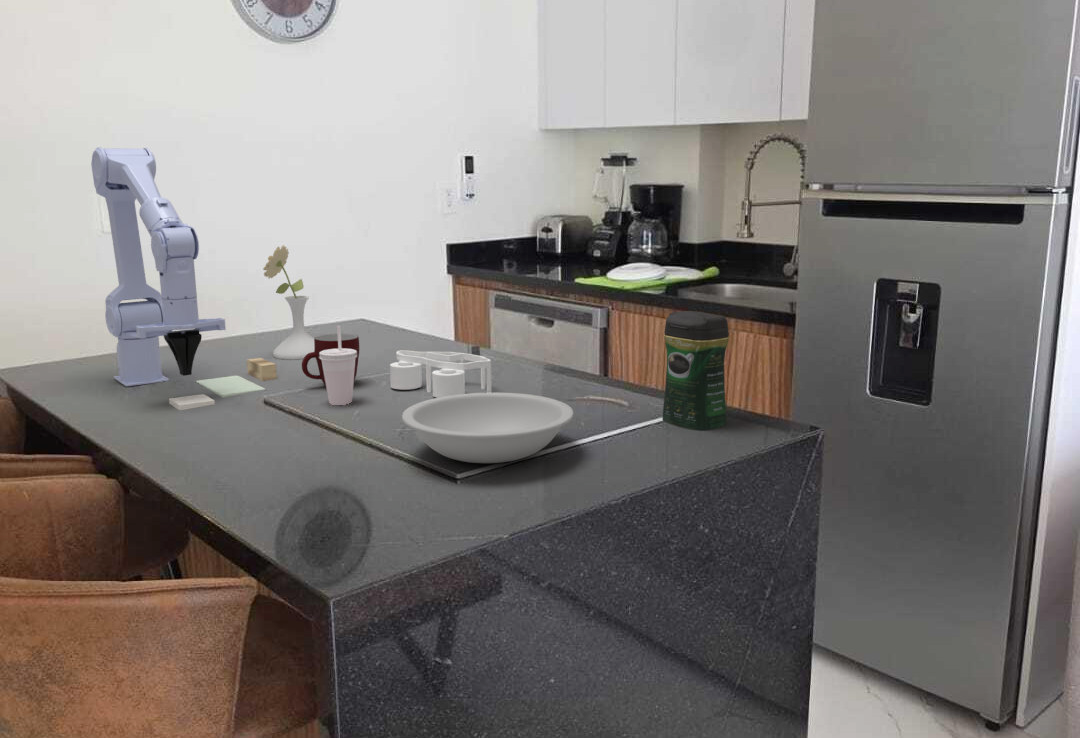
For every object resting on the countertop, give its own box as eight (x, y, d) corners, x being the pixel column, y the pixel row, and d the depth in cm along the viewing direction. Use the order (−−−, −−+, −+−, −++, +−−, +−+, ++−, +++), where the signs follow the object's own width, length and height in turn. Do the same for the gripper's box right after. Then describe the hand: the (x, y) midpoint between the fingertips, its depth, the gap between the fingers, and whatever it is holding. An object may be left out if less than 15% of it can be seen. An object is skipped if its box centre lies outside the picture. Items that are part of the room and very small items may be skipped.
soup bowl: (512, 495, 117) (511, 444, 115) (367, 465, 129) (365, 419, 128) (603, 448, 137) (604, 404, 135) (470, 426, 149) (469, 385, 148)
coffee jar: (734, 432, 145) (739, 313, 141) (699, 441, 140) (703, 318, 136) (688, 419, 152) (691, 306, 148) (653, 427, 147) (655, 310, 144)
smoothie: (367, 404, 163) (363, 325, 161) (344, 412, 158) (340, 330, 155) (337, 400, 166) (333, 322, 163) (314, 408, 160) (309, 328, 157)
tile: (169, 398, 164) (179, 405, 159) (203, 394, 168) (214, 400, 163) (169, 406, 164) (179, 413, 160) (204, 401, 168) (215, 407, 163)
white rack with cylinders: (378, 394, 172) (377, 354, 170) (423, 383, 180) (422, 346, 179) (456, 411, 159) (455, 368, 158) (500, 399, 167) (499, 358, 166)
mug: (311, 398, 168) (308, 343, 166) (298, 390, 174) (295, 337, 172) (367, 391, 173) (365, 338, 171) (352, 383, 180) (349, 332, 178)
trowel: (242, 379, 185) (241, 360, 184) (267, 375, 187) (266, 357, 187) (271, 392, 173) (269, 372, 172) (296, 389, 176) (295, 369, 175)
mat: (196, 384, 179) (195, 380, 179) (237, 379, 184) (237, 375, 184) (222, 399, 167) (222, 395, 167) (265, 393, 172) (265, 388, 172)
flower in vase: (303, 353, 210) (297, 241, 205) (338, 359, 203) (332, 243, 198) (255, 363, 200) (247, 245, 195) (290, 369, 193) (283, 247, 188)
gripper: (141, 303, 154) (148, 383, 157) (228, 296, 163) (234, 372, 166) (130, 299, 160) (137, 376, 163) (215, 292, 168) (221, 366, 171)
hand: (185, 374), depth 165 cm, fingers closed
